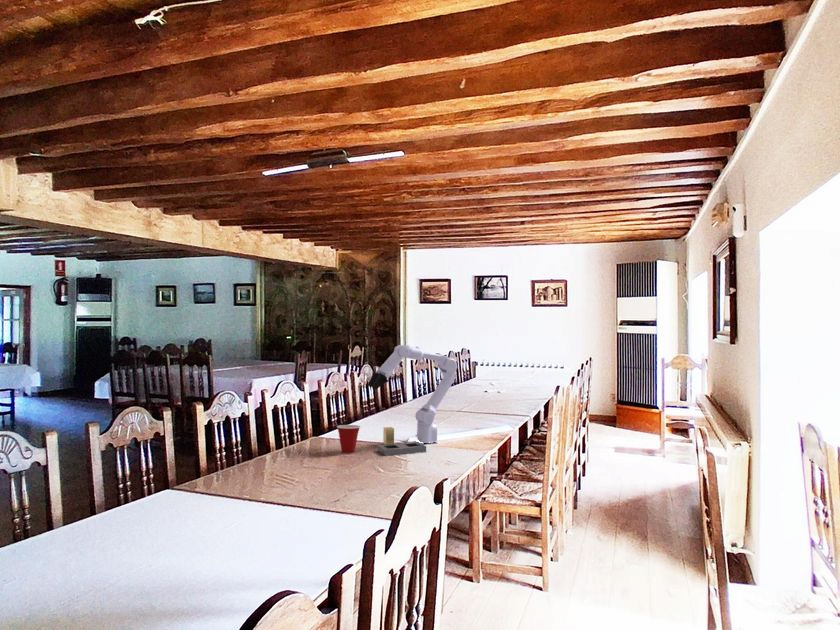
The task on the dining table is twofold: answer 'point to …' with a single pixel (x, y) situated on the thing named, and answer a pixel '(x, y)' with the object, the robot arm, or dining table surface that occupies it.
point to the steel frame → (401, 448)
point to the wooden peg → (388, 435)
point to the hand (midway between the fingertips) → (371, 387)
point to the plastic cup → (348, 437)
